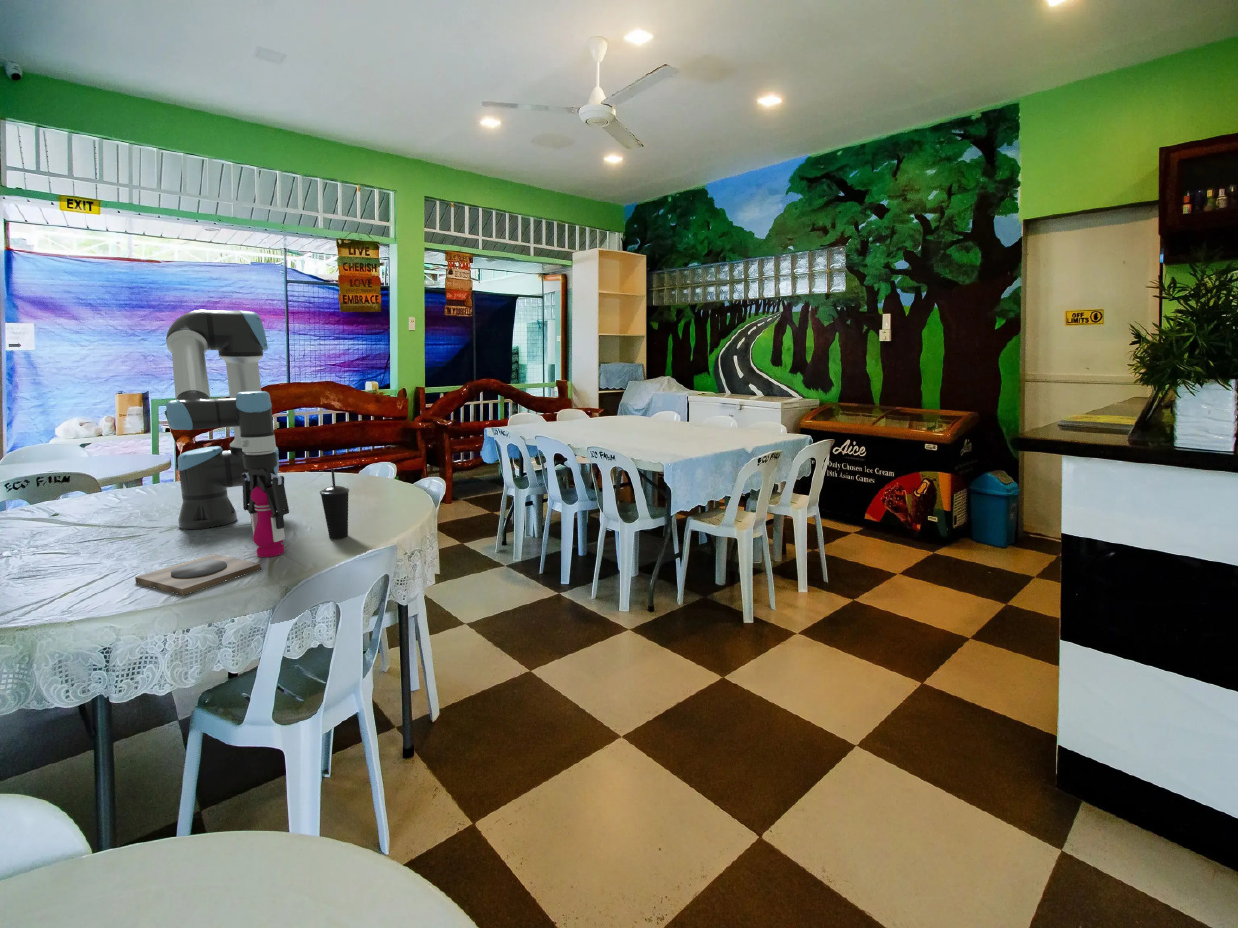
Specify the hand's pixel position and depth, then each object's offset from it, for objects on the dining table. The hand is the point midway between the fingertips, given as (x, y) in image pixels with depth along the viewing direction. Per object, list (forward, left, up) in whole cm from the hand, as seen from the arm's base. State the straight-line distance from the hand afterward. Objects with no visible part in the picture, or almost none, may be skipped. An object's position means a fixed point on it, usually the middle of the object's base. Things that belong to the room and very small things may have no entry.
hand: (269, 538), depth 161 cm
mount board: (0, -18, -4) cm, 18 cm away
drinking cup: (+4, +18, -4) cm, 19 cm away
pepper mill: (0, 0, -4) cm, 4 cm away
